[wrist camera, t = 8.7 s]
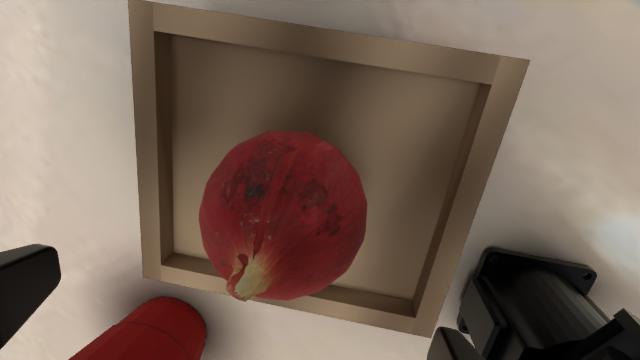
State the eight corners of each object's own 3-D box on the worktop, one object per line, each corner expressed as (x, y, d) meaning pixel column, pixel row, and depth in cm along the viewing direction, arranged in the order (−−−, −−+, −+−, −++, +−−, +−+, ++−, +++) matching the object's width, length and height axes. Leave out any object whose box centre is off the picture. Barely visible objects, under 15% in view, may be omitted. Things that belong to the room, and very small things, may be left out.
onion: (241, 118, 15) (109, 156, 7) (368, 120, 14) (376, 165, 6) (248, 234, 16) (150, 366, 9) (363, 241, 16) (364, 391, 8)
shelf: (476, 61, 17) (530, 59, 11) (413, 269, 21) (430, 338, 16) (198, 18, 18) (127, -2, 12) (195, 226, 22) (143, 277, 17)
